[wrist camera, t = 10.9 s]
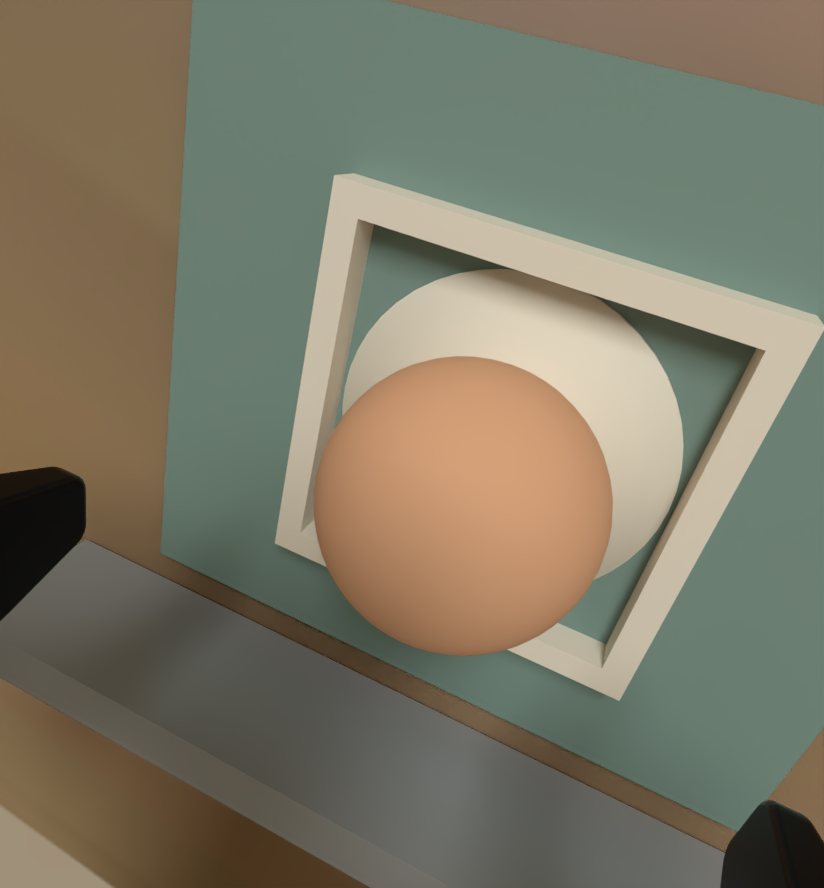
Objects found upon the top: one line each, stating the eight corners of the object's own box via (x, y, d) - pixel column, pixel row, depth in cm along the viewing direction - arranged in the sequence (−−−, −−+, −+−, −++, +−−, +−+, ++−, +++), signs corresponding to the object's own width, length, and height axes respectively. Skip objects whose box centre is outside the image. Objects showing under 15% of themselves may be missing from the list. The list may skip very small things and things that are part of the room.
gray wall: (86, 576, 21) (-31, 659, 18) (86, 539, 20) (-36, 618, 17) (901, 989, 16) (957, 1221, 12) (939, 958, 15) (1009, 1195, 12)
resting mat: (170, 546, 19) (140, 569, 18) (209, -41, 13) (166, -56, 12) (739, 818, 16) (741, 865, 15) (1216, 201, 9) (1281, 209, 8)
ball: (363, 500, 15) (238, 638, 11) (412, 290, 13) (276, 363, 9) (573, 588, 14) (524, 778, 10) (668, 377, 12) (655, 507, 8)
